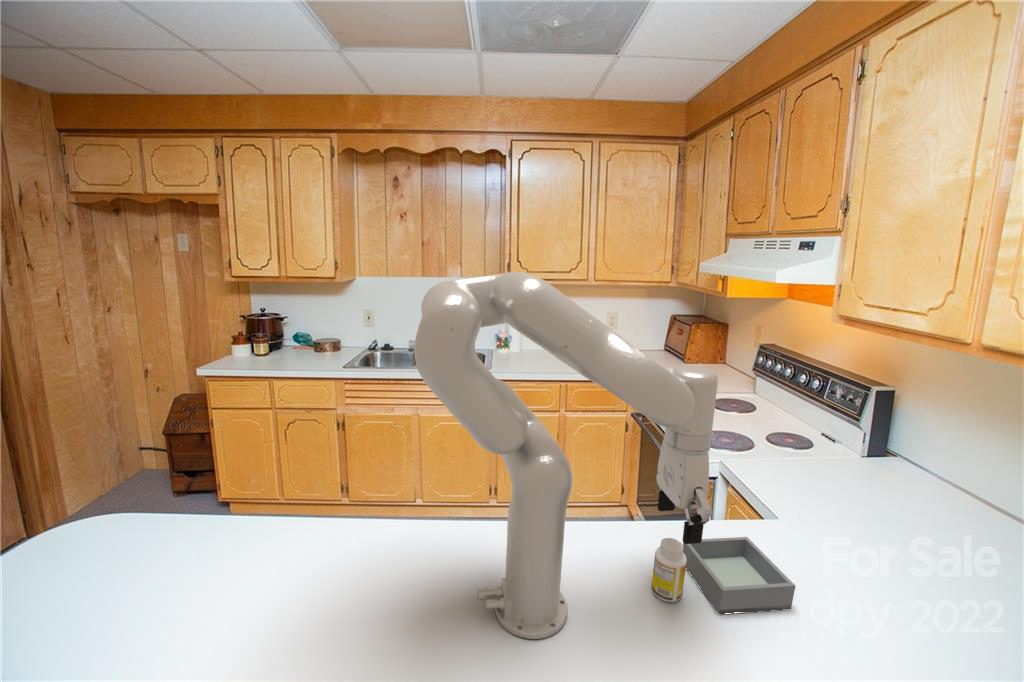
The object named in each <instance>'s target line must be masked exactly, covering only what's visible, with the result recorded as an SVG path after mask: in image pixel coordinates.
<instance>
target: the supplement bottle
mask: <svg viewBox="0 0 1024 682" xmlns="http://www.w3.org/2000/svg"><path fill="white" fill-rule="evenodd" d="M659 545H660V546H658V547H657V548H656V550H655V552H654V560H653V568H652V576H651V591H652V593H653V594H654V596H656V598H658V599H660V600H661V601H663V602H667V603H675V602H679V600H681V599H682V596H683V593H684V585H685V583H684V582H685V576H686V571H687V570H686V563H687V559H686V556H685V554H684V553H683V549H684V547H683V543H682V542H681V541H679V540H678V539H676V538H672V537H665V538H663V539H661V541H660V544H659Z"/></svg>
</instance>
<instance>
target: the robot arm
mask: <svg viewBox="0 0 1024 682" xmlns="http://www.w3.org/2000/svg"><path fill="white" fill-rule="evenodd" d="M420 309H421V310H420V311H421V318H420V321H419V325H418V327H417V331H416V334H415V340H414V349H413V350H414V359H415V366H416V368H417V371H418V372H419V375H420V377H421V379H422V380H423V382H424V383H425V384H426V386H427V387H428V388H429V389H430V391H431V392H432V393H433V394H434V395H435V396H436V397H437V399H438V400H439V401H440V402H441V403H442V404H443V405H444V406H445V408H446V409H447V410H448V411H449V413H450V414H451V415H452V416H453V417H454V418H455V419H456V421H458V423H459V424H460V425H461V426H462V427H463V428H464V429H465V431H467V432H468V434H469V436H470V437H472V439H473V440H474V442H475V443H476V444H478V445H479V447H481V448H482V449H483V450H485V451H487V452H488V453H491V454H494V455H498V456H500V457H501V458H502V460H503V462H504V464H505V466H506V469H507V472H508V475H509V477H510V482H511V496H510V501H509V505H508V510H507V526H506V530H507V532H506V533H507V534H506V535H507V536H506V550H505V551H506V552H505V553H506V557H505V573H504V574H505V576H504V577H501V583H500V584H495V587H488V586H487V587H485V586H484V587H478V588H477V600H478V601H485V609H486V610H494V612H495V617H496V618H497V621H498V622H499V623H500V625H501V627H503V628H504V629H505V630H506V631H508V632H509V633H511V634H513V635H515V636H518V637H519V638H524V639H530V640H537V639H538V640H540V639H545V638H548V637H551V636H553V635H555V634H556V633H557V632H559V631H560V630H561V629H562V628H563V627H564V625H565V624H566V622H567V617H568V609H569V608H568V603H567V600H566V598H565V597H564V595H563V594H562V593H561V582H562V581H561V580H562V568H563V567H562V566H563V555H564V554H563V552H564V542H565V539H564V538H565V528H566V527H565V524H566V515H567V514H566V513H567V508H568V503H569V499H570V495H571V492H572V488H573V481H574V479H573V471H572V467H571V465H570V462H569V460H568V458H567V455H566V454H565V453H564V451H563V450H562V448H561V447H560V445H559V444H558V442H557V441H556V440H555V438H554V437H553V436H552V434H551V433H550V431H549V430H548V429H547V427H546V426H545V425H544V424H543V423H542V421H540V420H539V417H537V416H536V415H535V413H534V412H533V411H532V410H531V409H530V407H529V406H528V405H527V404H526V403H525V402H524V400H523V399H522V398H521V397H520V396H519V395H518V394H517V393H516V391H515V390H514V389H513V388H512V386H510V384H508V383H507V382H505V381H503V380H501V379H499V378H496V377H495V375H493V374H492V372H491V371H490V369H489V368H488V367H487V365H485V364H484V363H483V361H482V360H481V359H480V358H479V356H478V354H477V352H476V341H477V338H478V334H479V332H480V329H481V328H485V327H487V328H488V327H492V326H498V325H503V324H507V325H509V326H510V327H512V329H514V330H515V331H516V332H518V333H520V334H521V335H523V336H524V337H526V338H527V339H529V340H530V341H531V342H533V343H534V344H536V345H537V346H539V347H541V348H542V349H544V350H545V351H546V352H548V353H550V355H552V356H553V357H555V358H556V359H557V360H559V361H561V362H562V363H563V364H565V365H567V366H568V367H569V368H571V369H572V370H574V371H576V372H577V373H579V374H580V375H581V376H582V377H584V378H585V379H587V380H589V381H590V382H593V383H594V384H597V385H598V386H600V387H601V388H603V389H605V390H606V391H608V392H610V393H611V394H613V395H614V396H615V397H617V398H618V399H620V400H621V401H623V402H624V403H625V404H627V405H629V406H630V407H631V408H632V409H635V410H636V411H637V412H638V413H640V414H641V415H643V416H644V417H646V418H647V419H649V420H651V422H653V423H654V424H656V425H658V426H659V427H660V426H661V427H663V428H664V437H663V440H662V443H661V446H660V447H661V448H660V453H659V457H658V461H657V471H656V483H657V485H658V487H657V488H658V490H659V491H658V500H657V501H658V502H657V510H658V511H659V512H669V511H675V508H676V507H677V508H678V509H679V510H684V513H685V516H686V517H685V518H686V521H684V523H683V524H684V525H683V532H682V534H683V535H682V542H684V544H694V543H701V541H702V539H703V535H704V534H703V533H704V525H706V524H707V523H708V522H709V521H710V520H709V519H710V518H711V516H712V515H713V510H712V507H711V506H710V503H709V501H708V494H709V483H710V482H709V481H710V480H709V479H710V455H709V452H710V450H711V444H712V434H713V425H714V419H715V410H716V400H717V391H718V386H719V385H718V382H719V381H718V376H717V373H716V372H715V371H713V370H712V369H710V368H708V367H704V366H700V365H692V364H689V365H688V364H685V365H684V364H683V365H678V366H663V365H661V364H659V363H658V362H656V360H654V359H652V358H651V357H650V356H648V355H646V353H643V352H642V351H641V350H640V349H638V348H637V347H636V346H634V345H633V344H631V343H630V342H628V341H627V340H626V339H625V338H623V336H621V335H620V334H619V333H618V332H616V331H614V330H613V329H612V328H610V327H609V326H608V325H606V324H605V323H604V322H602V321H601V320H600V319H598V318H596V317H595V316H594V315H592V314H591V313H589V311H587V310H585V309H584V308H583V307H581V306H580V305H579V304H577V303H576V302H575V301H573V300H572V299H571V298H569V296H567V295H566V294H564V293H563V292H561V291H560V290H559V289H557V288H555V286H553V285H552V284H550V283H549V282H548V281H546V280H545V279H543V278H541V277H539V276H538V275H537V276H536V275H534V274H530V273H528V272H524V271H509V272H503V273H498V274H497V273H496V274H490V275H489V274H488V275H485V276H484V275H483V276H475V277H474V276H473V277H467V278H462V279H454V280H446V281H441V282H438V283H437V284H434V285H433V286H432V287H430V288H429V289H428V290H427V292H425V294H424V296H423V299H422V302H421V308H420ZM692 501H694V504H692ZM693 509H696V513H697V514H695V515H694V516H693V514H692V510H693Z"/></svg>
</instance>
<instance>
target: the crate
mask: <svg viewBox="0 0 1024 682" xmlns="http://www.w3.org/2000/svg"><path fill="white" fill-rule="evenodd" d="M682 542H683V541H682ZM682 545H683V547H684V549H683V553H684V554H685V556H686V559H687V563H686V568H687V570H688V571H689V572H690V574H691V575H692V577H693V578H694V579H695V581H696V582H697V584H698V585H699V586H700V588H701V589H700V588H699V589H700V591H701V590H702V591H703V592H702V591H701V592H702V593H704V594H705V595H704V594H703V595H704V596H705V598H706V597H707V598H708V599H707V598H706V599H707V601H708V602H709V601H710V602H709V603H710V605H711V604H712V605H713V606H712V605H711V606H712V608H713V609H714V608H715V609H716V610H715V609H714V610H715V612H716V611H717V612H718V613H717V612H716V613H717V614H718V615H719V614H725V613H734V612H753V613H759V612H758V611H766V612H772V611H771V610H779V611H784V610H783V609H791V610H792V605H793V601H794V596H795V591H796V584H794V582H792V580H791V579H789V577H788V576H787V575H785V574H784V572H782V570H780V568H779V567H778V566H777V565H775V563H774V562H773V561H772V560H770V558H769V557H768V556H767V555H766V554H765V553H764V552H763V551H762V550H761V549H760V548H759V547H758V546H757V545H756V544H755V543H754V542H753V541H752V540H751V539H750V538H749V537H748V536H739V537H738V536H737V537H735V536H734V537H722V538H721V537H718V538H717V537H716V538H702V541H701V543H694V544H684V542H683V543H682ZM687 570H686V571H687ZM688 571H687V572H688ZM690 574H689V575H690ZM691 575H690V576H691ZM692 577H691V578H692ZM693 578H692V579H693ZM695 581H694V582H695ZM696 582H695V583H696ZM697 584H696V585H697ZM698 585H697V586H698Z"/></svg>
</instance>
